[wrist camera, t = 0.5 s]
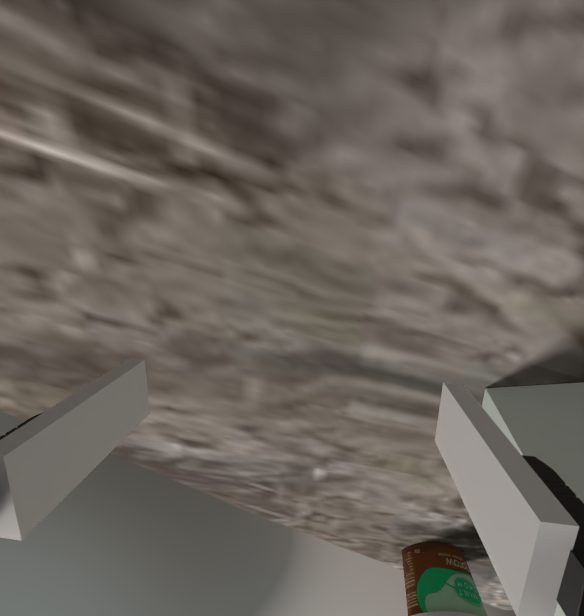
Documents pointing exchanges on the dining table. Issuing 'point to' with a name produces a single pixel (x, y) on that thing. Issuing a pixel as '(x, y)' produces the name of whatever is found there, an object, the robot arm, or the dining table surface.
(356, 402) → the dining table surface
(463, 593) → the food container
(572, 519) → the robot arm
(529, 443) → the box
